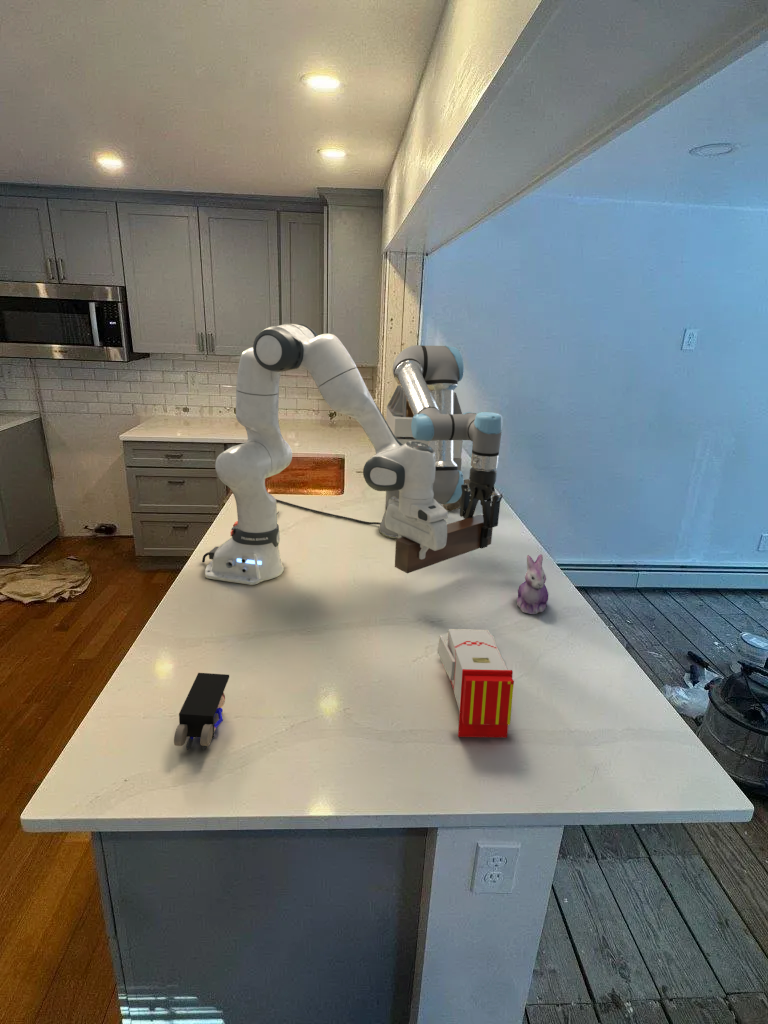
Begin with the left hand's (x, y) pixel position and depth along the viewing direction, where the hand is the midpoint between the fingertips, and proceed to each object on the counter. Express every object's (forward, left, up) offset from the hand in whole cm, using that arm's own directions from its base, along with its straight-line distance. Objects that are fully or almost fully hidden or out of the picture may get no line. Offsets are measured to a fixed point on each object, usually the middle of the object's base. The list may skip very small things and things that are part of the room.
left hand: (412, 554), depth 151 cm
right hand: (+19, +17, -3) cm, 26 cm away
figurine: (+33, -1, -14) cm, 36 cm away
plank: (+10, +9, -4) cm, 13 cm away
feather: (-49, +60, -14) cm, 78 cm away
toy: (+12, -39, -14) cm, 43 cm away
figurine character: (-39, -54, -14) cm, 68 cm away
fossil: (+21, +83, -14) cm, 87 cm away
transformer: (+7, +127, -14) cm, 128 cm away
